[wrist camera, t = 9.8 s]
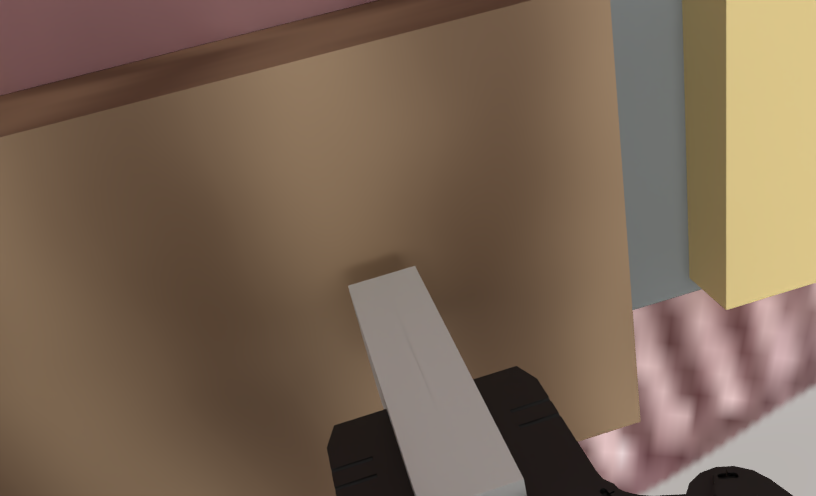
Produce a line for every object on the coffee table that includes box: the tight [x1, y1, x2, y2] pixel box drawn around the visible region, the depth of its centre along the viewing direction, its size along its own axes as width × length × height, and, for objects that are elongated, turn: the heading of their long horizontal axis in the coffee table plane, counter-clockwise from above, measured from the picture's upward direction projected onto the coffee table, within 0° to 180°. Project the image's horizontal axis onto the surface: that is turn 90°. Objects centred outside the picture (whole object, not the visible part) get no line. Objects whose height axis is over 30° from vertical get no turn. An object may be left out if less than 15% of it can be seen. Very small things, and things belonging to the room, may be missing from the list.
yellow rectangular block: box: [682, 0, 816, 310], centre depth 21 cm, size 9×6×2 cm, turn 12°
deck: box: [0, 0, 640, 496], centre depth 19 cm, size 20×12×4 cm, turn 102°
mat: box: [610, 0, 701, 310], centre depth 22 cm, size 14×12×1 cm
